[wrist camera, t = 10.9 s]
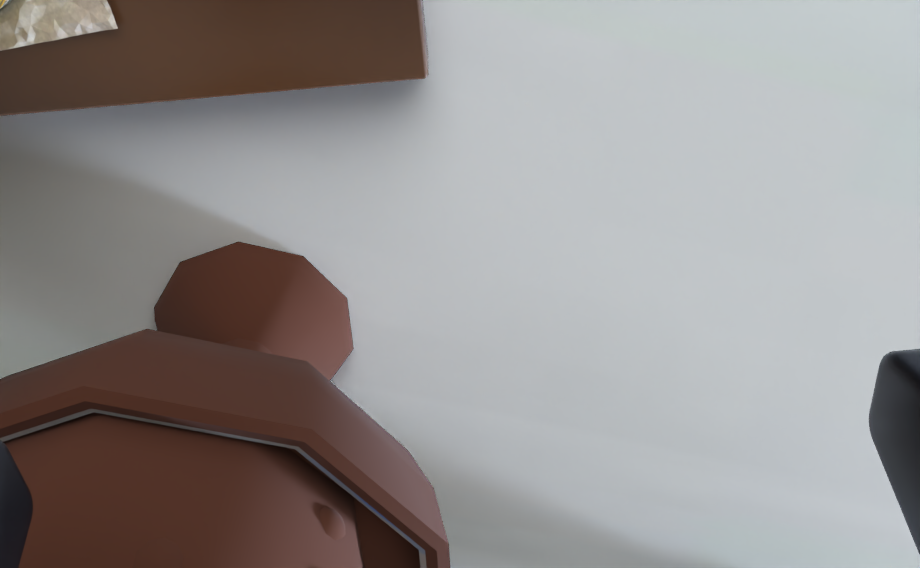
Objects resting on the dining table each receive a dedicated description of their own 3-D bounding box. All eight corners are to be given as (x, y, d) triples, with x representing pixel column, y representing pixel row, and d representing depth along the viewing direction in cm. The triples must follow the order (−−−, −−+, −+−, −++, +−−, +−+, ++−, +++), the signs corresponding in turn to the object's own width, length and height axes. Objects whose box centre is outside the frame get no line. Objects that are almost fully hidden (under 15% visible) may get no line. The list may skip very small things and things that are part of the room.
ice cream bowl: (403, 494, 27) (380, 1143, 14) (43, 429, 25) (-352, 1113, 12) (501, 211, 22) (604, 846, 9) (53, 102, 20) (-620, 713, 7)
